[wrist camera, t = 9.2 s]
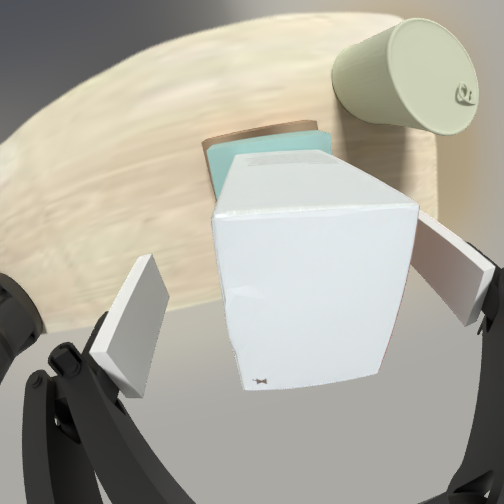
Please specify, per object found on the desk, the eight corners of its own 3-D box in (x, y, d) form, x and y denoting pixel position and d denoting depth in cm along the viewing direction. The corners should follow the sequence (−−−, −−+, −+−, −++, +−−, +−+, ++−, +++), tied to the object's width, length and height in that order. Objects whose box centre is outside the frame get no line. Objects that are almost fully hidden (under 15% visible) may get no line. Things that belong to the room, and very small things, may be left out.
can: (398, 135, 25) (473, 156, 14) (323, 108, 24) (380, 107, 13) (412, 64, 21) (487, 57, 10) (339, 31, 19) (396, -7, 9)
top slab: (231, 238, 26) (230, 259, 23) (212, 144, 22) (206, 150, 18) (324, 223, 26) (337, 242, 22) (316, 129, 21) (330, 133, 18)
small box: (322, 246, 22) (379, 377, 10) (244, 253, 22) (239, 395, 11) (321, 146, 18) (425, 202, 7) (233, 152, 18) (202, 215, 7)
